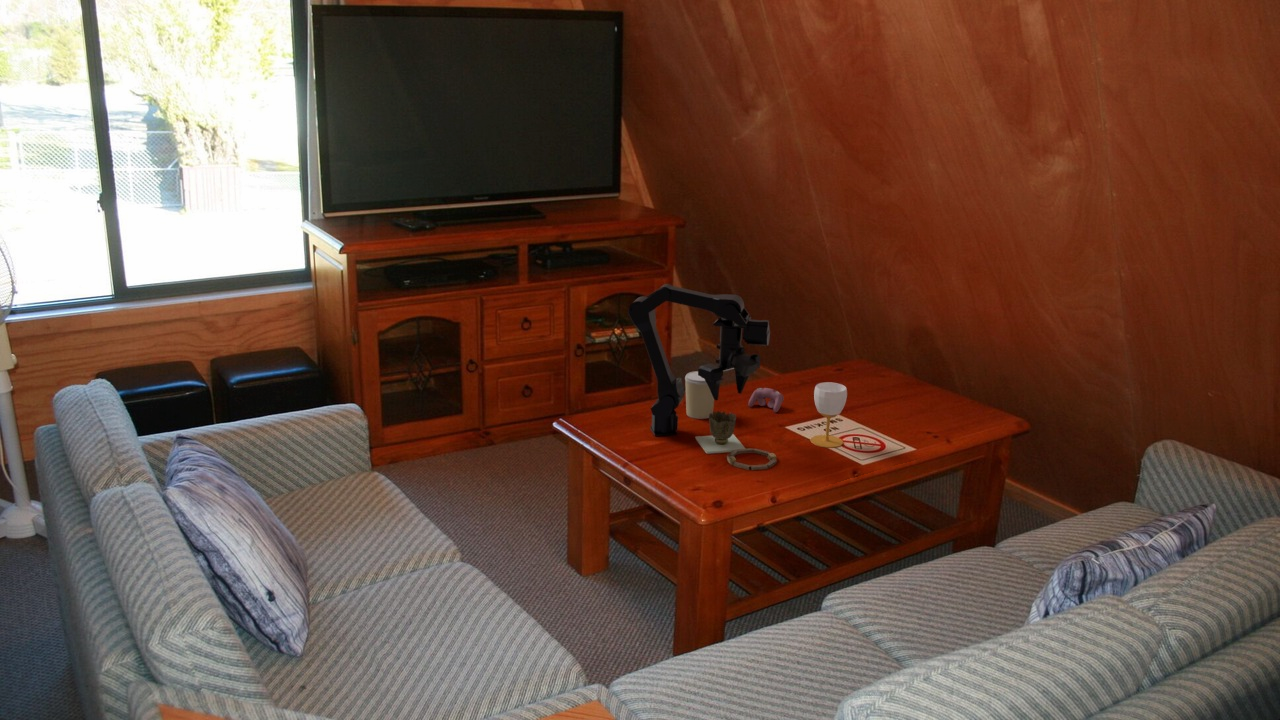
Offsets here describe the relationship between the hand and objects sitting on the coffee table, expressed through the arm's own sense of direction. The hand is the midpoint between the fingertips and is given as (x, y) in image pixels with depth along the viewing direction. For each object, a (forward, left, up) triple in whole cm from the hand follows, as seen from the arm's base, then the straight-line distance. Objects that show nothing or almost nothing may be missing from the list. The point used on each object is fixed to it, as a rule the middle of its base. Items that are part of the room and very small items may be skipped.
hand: (727, 396), depth 287 cm
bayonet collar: (+2, -16, -12) cm, 20 cm away
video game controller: (+20, +23, -13) cm, 33 cm away
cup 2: (+27, -7, -13) cm, 31 cm away
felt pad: (-3, -4, -12) cm, 13 cm away
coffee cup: (-2, +20, -13) cm, 24 cm away
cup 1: (-3, -4, -12) cm, 13 cm away
